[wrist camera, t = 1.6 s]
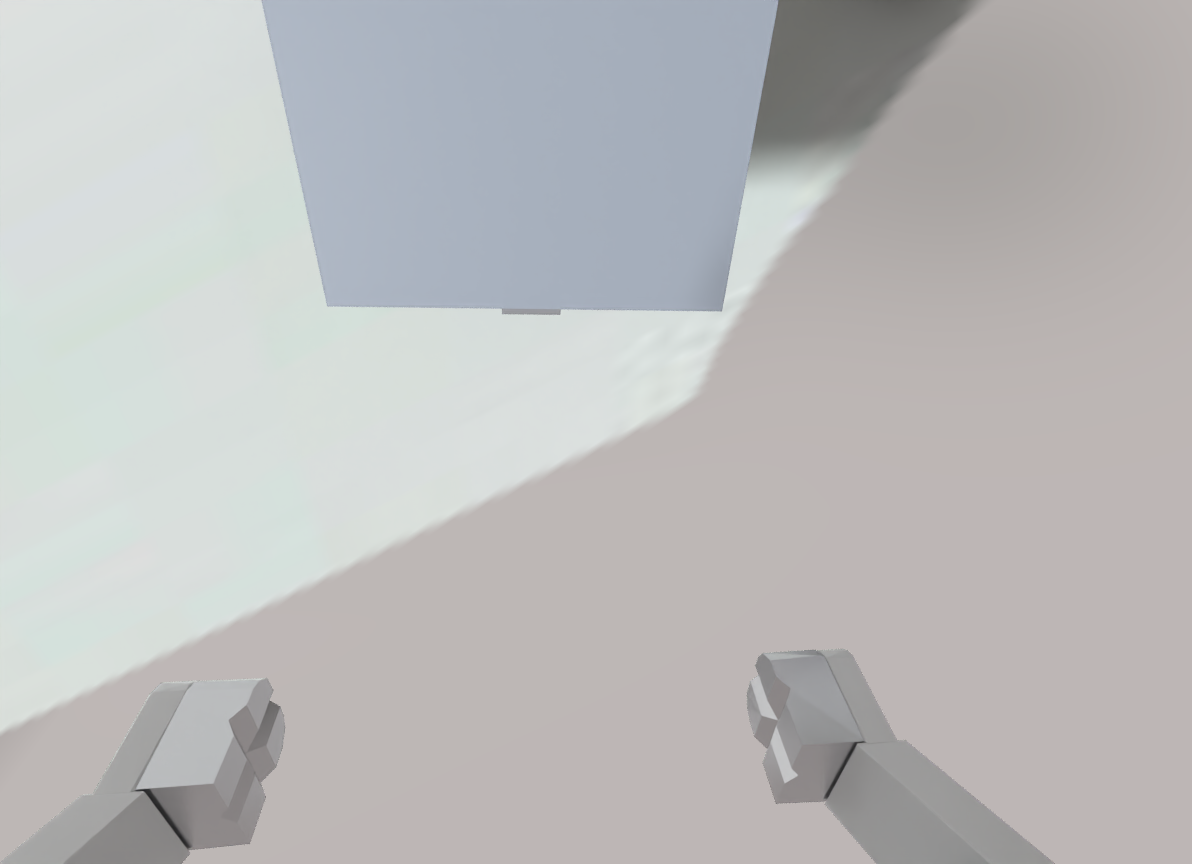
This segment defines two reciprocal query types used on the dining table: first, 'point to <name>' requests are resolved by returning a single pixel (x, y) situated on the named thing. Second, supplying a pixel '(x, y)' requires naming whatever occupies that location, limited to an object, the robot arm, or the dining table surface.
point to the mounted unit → (522, 147)
